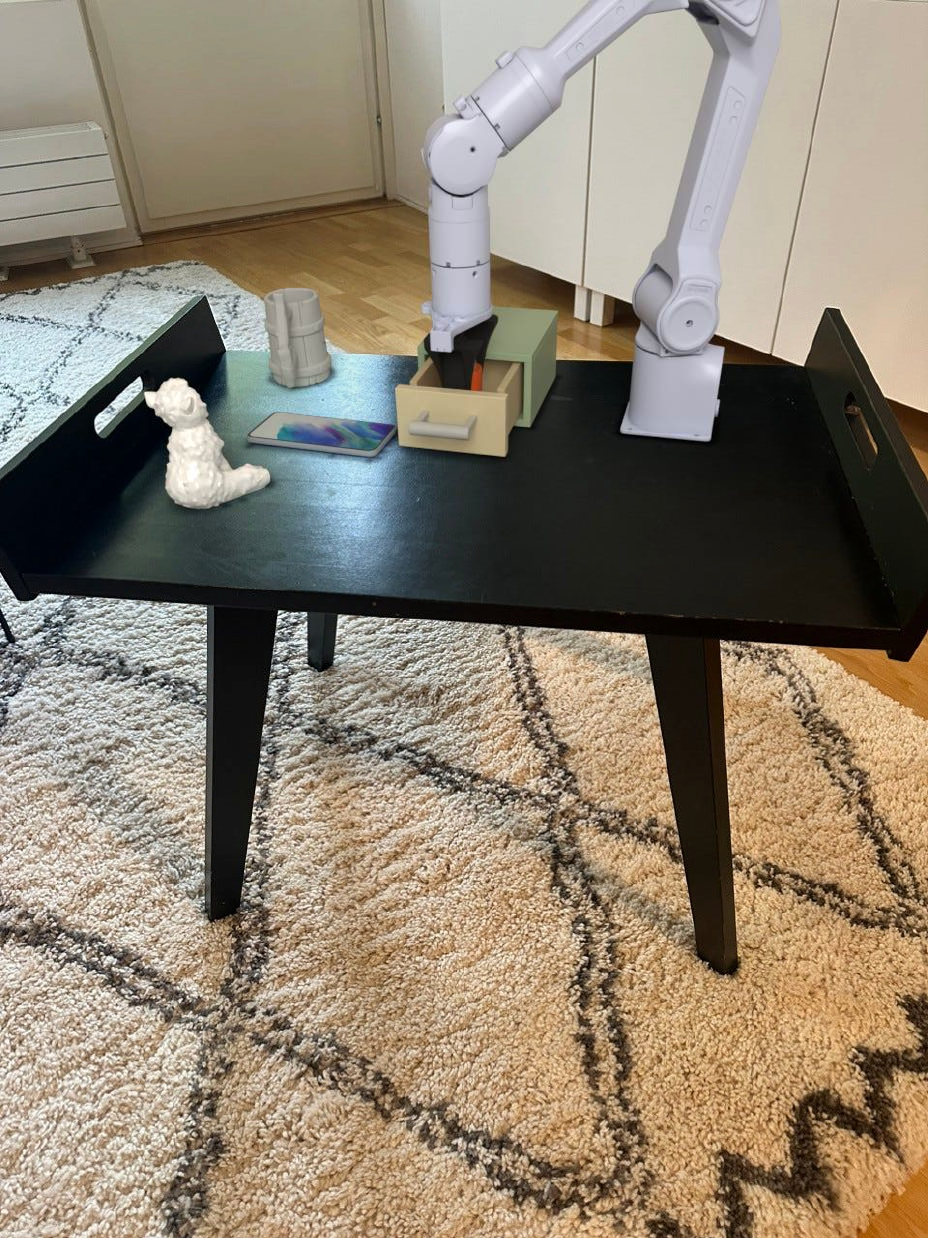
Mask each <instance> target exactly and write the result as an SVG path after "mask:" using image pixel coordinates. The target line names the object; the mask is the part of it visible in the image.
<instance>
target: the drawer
mask: <svg viewBox="0 0 928 1238" xmlns="http://www.w3.org/2000/svg"><path fill="white" fill-rule="evenodd" d="M394 393H395V395H394V396H395V407H396V421H397V435H398V446H400V447H409V448H419V449H428V450H436V451H447V452H456V453H465V454H474V455H484V456H493V457H504V458H505V457H507V454H508V452H509V436H510V433H511V431H512V430H513V427H514V426H513V425H514V424H515V422H516V420H517V418H518V416H519V414H520V412H521V411H522V409H523V407H524V362H516V361H504V360H491V359H485V362H484V368H483V373H482V392H481V391H470V390H459V389H448V388H442V385H441V382H440V378H439V375H438V372H437V370H436V367H435V365H434V363H433V361H432V360H431V358H430V357H429V358H428V360H427V361H426V362H425V363H424V364H423V366H422V367H421V368H420V369H419V371H418V370H417V371H416V373H415V374H414V375H413V376H412V378H411V379H410V380H409V384H402V383H398V384H397V385H396V387H395V388H394Z"/></svg>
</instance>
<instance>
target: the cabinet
mask: <svg viewBox="0 0 928 1238" xmlns="http://www.w3.org/2000/svg"><path fill="white" fill-rule="evenodd" d="M492 314H494V315H497V316H498V323H497V325H496V327H495V329H494V331H493V334H492V336H491V339H490V342H489V345H488V348H487V352H486V357H485V359H491V360H504V361H516V362H524V407H523V409H522V411H521V412H520V414H519V416H518V418H517V420H516V422H515V424H514V425H513V427H523V428H531V426H532V425H533V423H534V421H535V418H536V416H537V415H538V413H539V411H540V409H541V406H542V405H543V403H544V400H545V398H546V397H547V395H548V392H549V390H550V388H551V386H552V385H553V383H554V381H555V380H556V379H555V378H556V373H557V372H556V371H557V349H558V324H559V311H558V310H556V309H555V310H553V309H538V308H524V307H511V306H509V307H508V306H497V305H496V306H495V305H492ZM416 351H417V352H416V353H417V372H418V371H419V369H420V368H421V367H422V366H423V364H424V363H425V362H426V361H427V360H428V358H429V357H430V356H429V355H428V353H427V352H426V351H425V348H424V338H423V339H422V341H421V342H419V344H418V345H417V346H416Z"/></svg>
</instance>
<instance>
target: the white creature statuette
mask: <svg viewBox="0 0 928 1238" xmlns="http://www.w3.org/2000/svg"><path fill="white" fill-rule="evenodd" d="M143 394H144V399H145V402H146V405H147V406H148V407H149V408H150V409H154V413H155V416H156V417H160V418H161V419H162V420H163V422H164V423H165V424H167V425H168V426H169V427H171V428H172V429H171V434H170V436H168V443H167V445H166V448H167V450H168V452H169V455H168V460H169V462H167V464H166V472H165V483H164V484H165V490H166V493H167V494H168V496H169V497H170V498H171V499H172V500H173V501H174V504H176V505H179V506H182V507H185V508H188V509H192V510H206V509H210V508H212V507H218V506H220V505H221V504H224V503H227V502H230V501H232V500H234V499H237V498H241V497H243V496H246V495H248V494H251V493H254V492H257V491H260V490H263V489H265V488H266V486H267V485H269V484H270V482H271V474H270V471H268V469H267V468H264V467H263V466H262V465H254V464H253V465H252V464H251V463H245V464H244V465H243V466H239V467H238V468H236V469H233V468H232V467H231V465H230V463H229V461H228V460H227V459H226V458H225V456H224V455H223V451H222V449H223V447H224V446H225V441H224V440H223V439H221V438H220V437H219V435H218V432H215V430H214V427H213V426H212V424H211V423H210V421H209V420H208V418H207V417H208V416H209V412H208V411H207V406H208V405H207V404H206V403H205V402H203V401H202V399H201V395H200V393H198V392H197V391H196V389H195V388H193V387H190V386H189V383H188V381H187V380H185V379H184V378H180V377H176V378H173V377H171V378H168V380H166V381H163V383H162V384H161V385H160V387H159V389H158V390H157V391H144V392H143Z"/></svg>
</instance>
